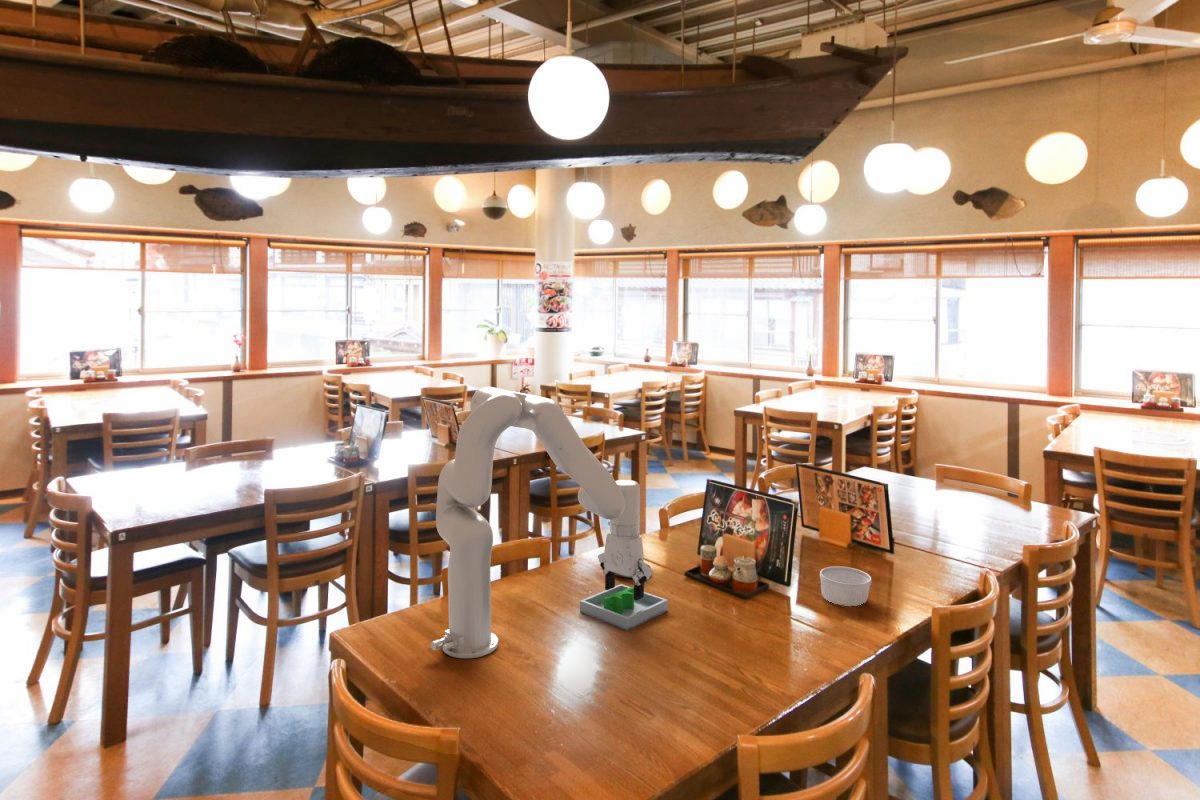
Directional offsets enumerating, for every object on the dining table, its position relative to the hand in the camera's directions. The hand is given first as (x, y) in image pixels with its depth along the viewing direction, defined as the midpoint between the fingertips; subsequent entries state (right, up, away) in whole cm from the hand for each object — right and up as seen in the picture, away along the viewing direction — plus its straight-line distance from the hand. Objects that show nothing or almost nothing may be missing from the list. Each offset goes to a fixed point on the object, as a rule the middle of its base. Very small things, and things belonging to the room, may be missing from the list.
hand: (624, 593), depth 185 cm
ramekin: (+60, -4, +9) cm, 61 cm away
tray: (0, -5, +1) cm, 5 cm away
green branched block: (-1, -4, 0) cm, 4 cm away
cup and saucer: (+3, -2, +28) cm, 28 cm away
